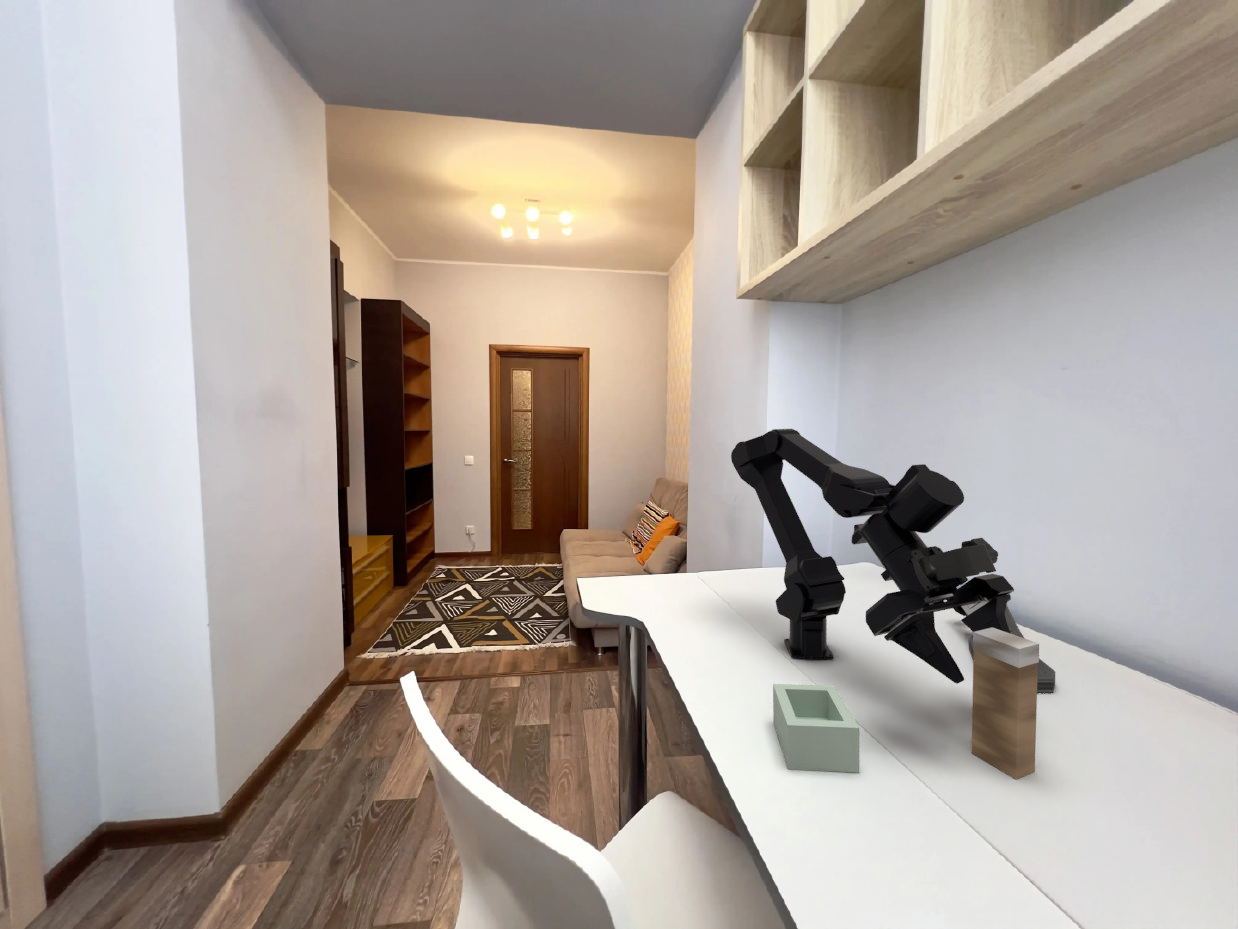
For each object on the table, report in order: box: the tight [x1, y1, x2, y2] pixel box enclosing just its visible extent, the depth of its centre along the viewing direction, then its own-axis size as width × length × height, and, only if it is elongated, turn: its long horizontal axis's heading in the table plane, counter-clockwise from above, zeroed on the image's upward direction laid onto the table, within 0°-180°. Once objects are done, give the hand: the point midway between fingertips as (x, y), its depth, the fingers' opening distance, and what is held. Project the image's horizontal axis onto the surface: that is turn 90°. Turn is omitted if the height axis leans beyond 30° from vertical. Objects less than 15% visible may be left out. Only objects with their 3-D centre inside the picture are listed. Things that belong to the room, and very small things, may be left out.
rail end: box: [971, 627, 1040, 780], centre depth 55 cm, size 5×3×14 cm, turn 20°
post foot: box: [772, 683, 860, 773], centre depth 59 cm, size 9×7×5 cm
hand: (989, 673), depth 56 cm, fingers open, 9 cm apart
